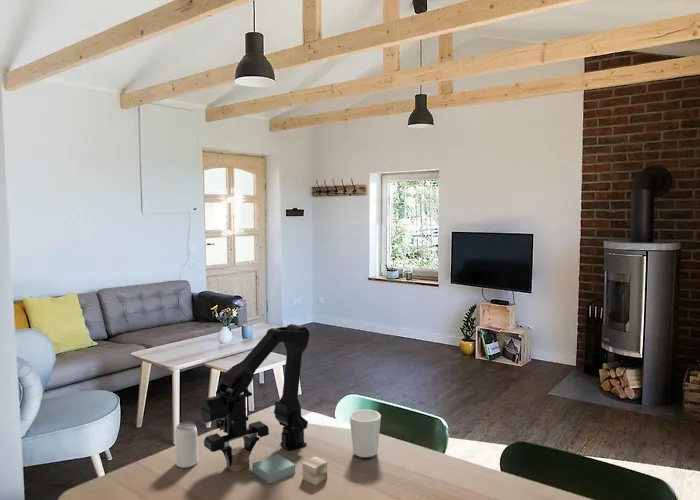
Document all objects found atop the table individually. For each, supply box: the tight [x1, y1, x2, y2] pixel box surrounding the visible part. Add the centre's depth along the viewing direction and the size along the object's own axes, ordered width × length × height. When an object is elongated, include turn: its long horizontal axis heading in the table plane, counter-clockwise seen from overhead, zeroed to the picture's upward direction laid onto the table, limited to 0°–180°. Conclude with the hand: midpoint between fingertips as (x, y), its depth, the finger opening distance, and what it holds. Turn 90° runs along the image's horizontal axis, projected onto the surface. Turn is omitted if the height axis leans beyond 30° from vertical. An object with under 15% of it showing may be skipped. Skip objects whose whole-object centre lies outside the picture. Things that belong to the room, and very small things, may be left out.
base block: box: [252, 453, 296, 485], centre depth 159 cm, size 9×9×3 cm
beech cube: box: [302, 456, 328, 486], centre depth 155 cm, size 5×5×5 cm
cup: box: [349, 408, 382, 460], centre depth 169 cm, size 10×10×13 cm
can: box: [174, 421, 199, 469], centre depth 164 cm, size 6×6×12 cm
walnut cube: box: [226, 445, 250, 474], centre depth 162 cm, size 5×5×5 cm
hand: (237, 463), depth 162 cm, fingers closed on walnut cube, 5 cm apart
